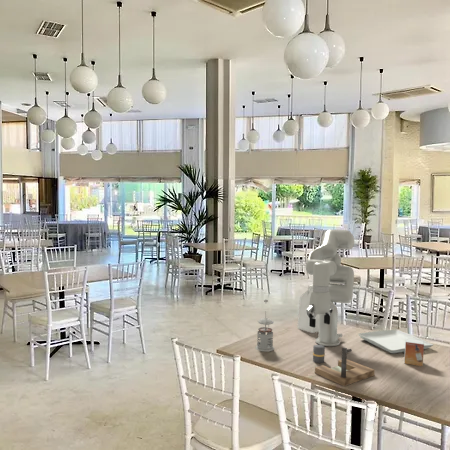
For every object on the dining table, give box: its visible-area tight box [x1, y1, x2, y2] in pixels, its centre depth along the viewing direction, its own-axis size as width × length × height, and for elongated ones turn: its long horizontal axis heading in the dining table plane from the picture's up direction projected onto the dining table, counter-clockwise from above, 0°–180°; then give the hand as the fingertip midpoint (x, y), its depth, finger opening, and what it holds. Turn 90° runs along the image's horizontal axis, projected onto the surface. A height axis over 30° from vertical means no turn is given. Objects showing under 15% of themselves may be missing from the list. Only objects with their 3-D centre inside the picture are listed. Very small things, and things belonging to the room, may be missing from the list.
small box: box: [403, 339, 425, 367], centre depth 208 cm, size 8×6×10 cm
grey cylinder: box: [312, 344, 326, 364], centre depth 209 cm, size 5×5×7 cm
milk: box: [296, 284, 319, 334], centre depth 259 cm, size 12×12×26 cm
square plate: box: [357, 329, 434, 354], centre depth 235 cm, size 27×27×4 cm
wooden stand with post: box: [314, 347, 376, 387], centre depth 194 cm, size 20×16×14 cm
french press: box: [255, 299, 275, 352], centre depth 226 cm, size 10×12×25 cm
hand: (319, 325), depth 208 cm, fingers open, 9 cm apart
